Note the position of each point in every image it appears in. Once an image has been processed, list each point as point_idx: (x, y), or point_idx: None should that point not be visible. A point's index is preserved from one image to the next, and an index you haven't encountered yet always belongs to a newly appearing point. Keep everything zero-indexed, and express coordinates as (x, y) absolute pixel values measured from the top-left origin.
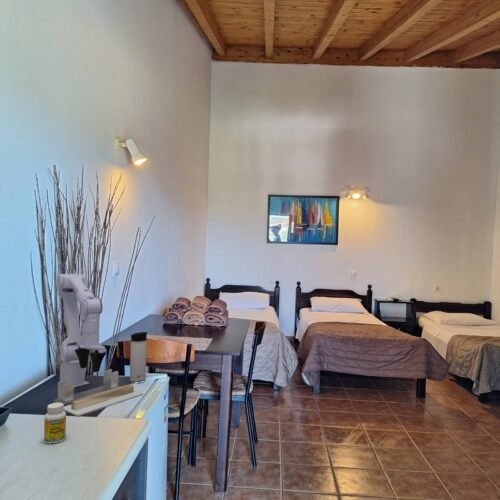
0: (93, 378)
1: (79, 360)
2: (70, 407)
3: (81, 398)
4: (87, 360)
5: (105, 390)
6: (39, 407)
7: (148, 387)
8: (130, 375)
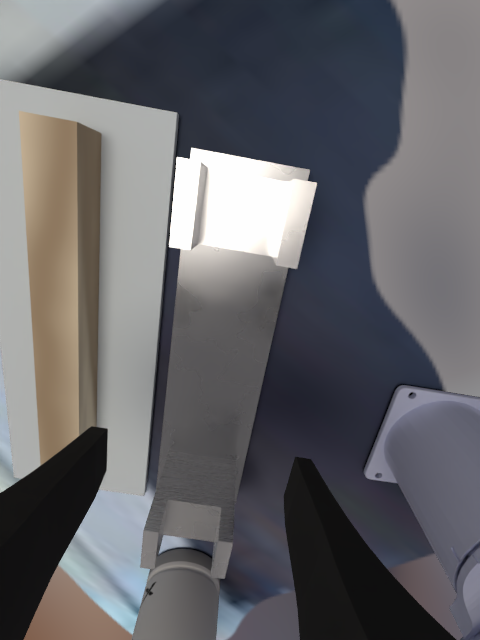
0: (405, 529)
1: (338, 524)
2: (127, 149)
3: (72, 203)
4: (293, 569)
5: (170, 421)
6: (327, 62)
7: (83, 538)
8: (194, 587)
